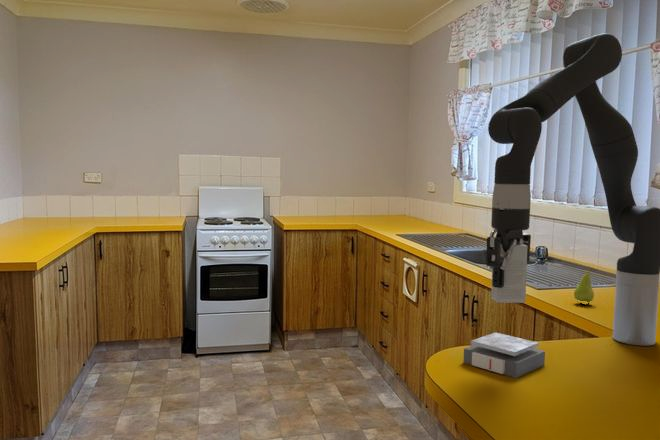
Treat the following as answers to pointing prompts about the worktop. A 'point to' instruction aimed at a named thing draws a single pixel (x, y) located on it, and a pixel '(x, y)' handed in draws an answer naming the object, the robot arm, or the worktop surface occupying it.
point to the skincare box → (513, 277)
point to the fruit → (584, 289)
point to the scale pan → (505, 343)
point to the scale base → (504, 360)
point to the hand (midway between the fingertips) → (507, 284)
